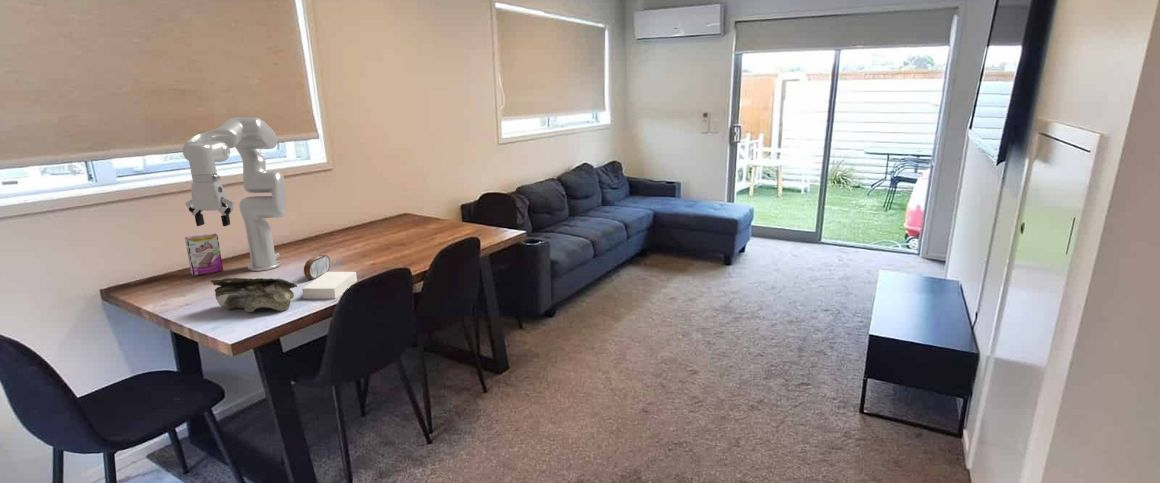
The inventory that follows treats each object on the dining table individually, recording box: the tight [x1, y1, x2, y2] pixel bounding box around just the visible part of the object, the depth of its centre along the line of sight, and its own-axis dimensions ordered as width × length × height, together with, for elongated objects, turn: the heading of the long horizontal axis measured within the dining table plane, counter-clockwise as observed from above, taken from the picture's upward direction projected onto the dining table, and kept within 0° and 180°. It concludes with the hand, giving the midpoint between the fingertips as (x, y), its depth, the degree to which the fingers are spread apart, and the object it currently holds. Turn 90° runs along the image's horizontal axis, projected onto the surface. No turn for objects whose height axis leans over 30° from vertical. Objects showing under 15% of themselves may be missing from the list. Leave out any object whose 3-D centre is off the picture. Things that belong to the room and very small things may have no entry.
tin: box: [303, 253, 331, 280], centre depth 231 cm, size 15×3×8 cm, turn 171°
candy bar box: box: [184, 232, 224, 277], centre depth 234 cm, size 11×5×16 cm, turn 135°
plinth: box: [302, 271, 358, 300], centre depth 215 cm, size 20×12×4 cm, turn 179°
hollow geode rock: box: [210, 277, 298, 313], centre depth 194 cm, size 28×13×15 cm
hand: (213, 225), depth 200 cm, fingers open, 9 cm apart
